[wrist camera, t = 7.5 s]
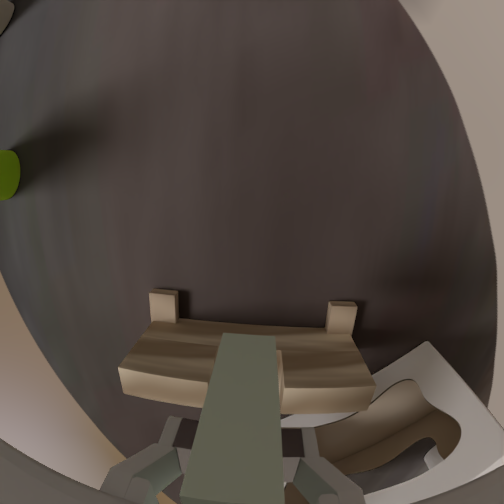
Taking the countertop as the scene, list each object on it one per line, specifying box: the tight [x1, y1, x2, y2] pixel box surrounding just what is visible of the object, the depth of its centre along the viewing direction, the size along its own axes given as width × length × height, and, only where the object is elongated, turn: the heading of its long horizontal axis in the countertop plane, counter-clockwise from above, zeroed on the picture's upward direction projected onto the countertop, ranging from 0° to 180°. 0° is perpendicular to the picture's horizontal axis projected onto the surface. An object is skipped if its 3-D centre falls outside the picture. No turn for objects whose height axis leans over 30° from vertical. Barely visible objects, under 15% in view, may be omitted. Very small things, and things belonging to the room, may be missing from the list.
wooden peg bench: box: [118, 288, 377, 414], centre depth 22 cm, size 8×18×9 cm, turn 87°
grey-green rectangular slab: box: [179, 333, 285, 504], centre depth 11 cm, size 14×2×9 cm, turn 177°
